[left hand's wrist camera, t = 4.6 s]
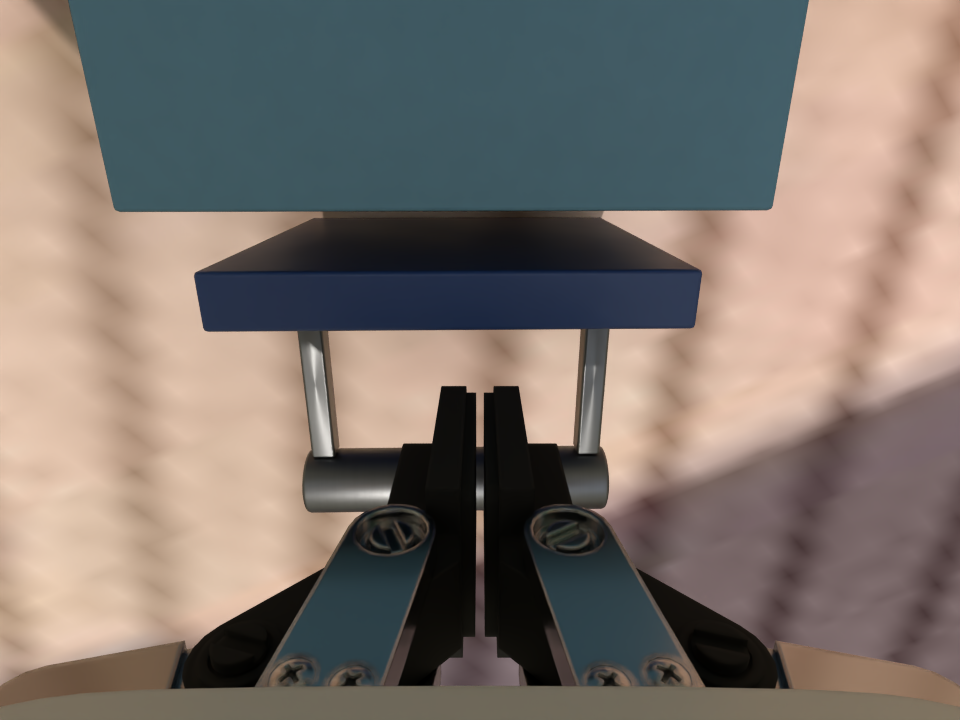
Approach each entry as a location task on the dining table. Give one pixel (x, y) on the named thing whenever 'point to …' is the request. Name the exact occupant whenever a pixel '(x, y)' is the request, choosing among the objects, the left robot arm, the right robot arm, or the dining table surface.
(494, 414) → the left robot arm
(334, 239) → the drawer
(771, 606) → the dining table surface
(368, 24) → the cabinet
